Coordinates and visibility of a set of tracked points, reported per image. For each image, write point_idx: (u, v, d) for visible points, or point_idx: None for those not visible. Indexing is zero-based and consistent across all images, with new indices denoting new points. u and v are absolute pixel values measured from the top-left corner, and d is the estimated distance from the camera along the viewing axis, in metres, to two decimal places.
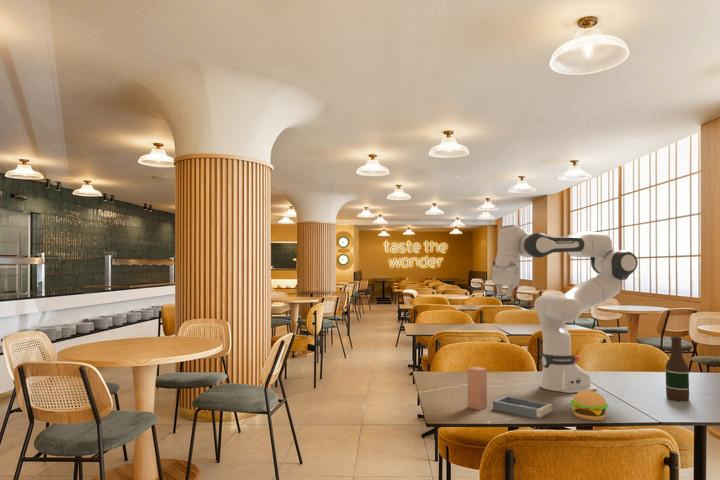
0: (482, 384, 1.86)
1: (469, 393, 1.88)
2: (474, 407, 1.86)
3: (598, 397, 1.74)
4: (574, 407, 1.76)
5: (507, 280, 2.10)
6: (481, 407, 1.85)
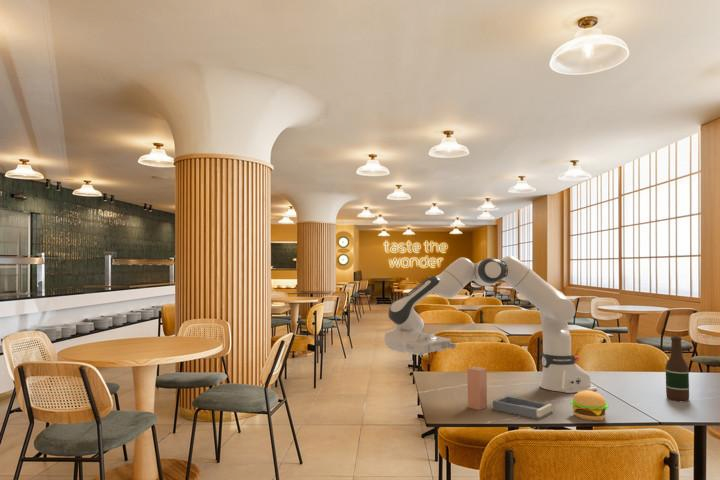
0: (482, 384, 1.86)
1: (469, 393, 1.88)
2: (474, 407, 1.86)
3: (598, 397, 1.74)
4: (574, 407, 1.76)
5: None
6: (481, 407, 1.85)
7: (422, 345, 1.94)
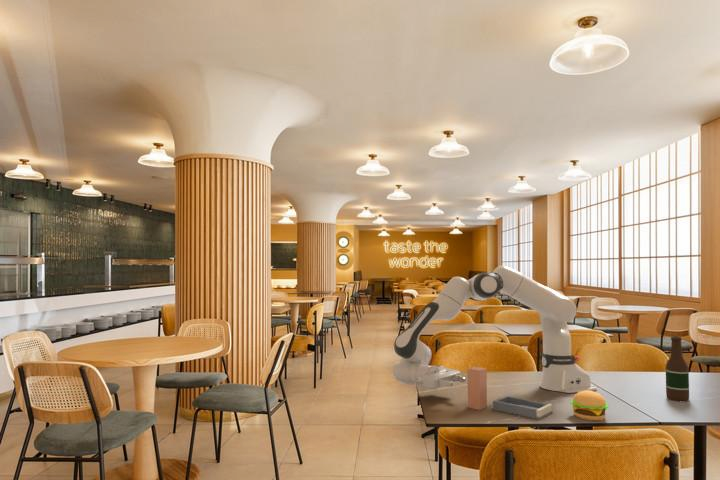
0: (482, 384, 1.86)
1: (469, 393, 1.88)
2: (474, 407, 1.86)
3: (598, 397, 1.74)
4: (574, 407, 1.76)
5: None
6: (481, 407, 1.85)
7: (432, 380, 1.91)
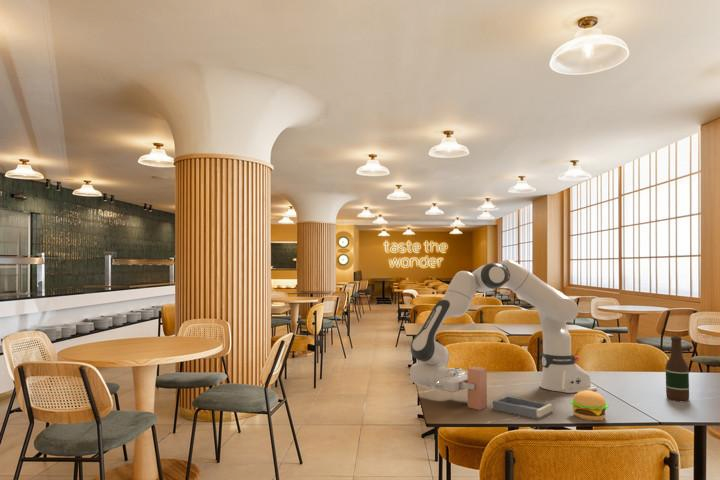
0: (482, 384, 1.86)
1: (469, 393, 1.88)
2: (474, 407, 1.86)
3: (598, 397, 1.74)
4: (574, 407, 1.76)
5: None
6: (481, 407, 1.85)
7: (452, 383, 1.84)
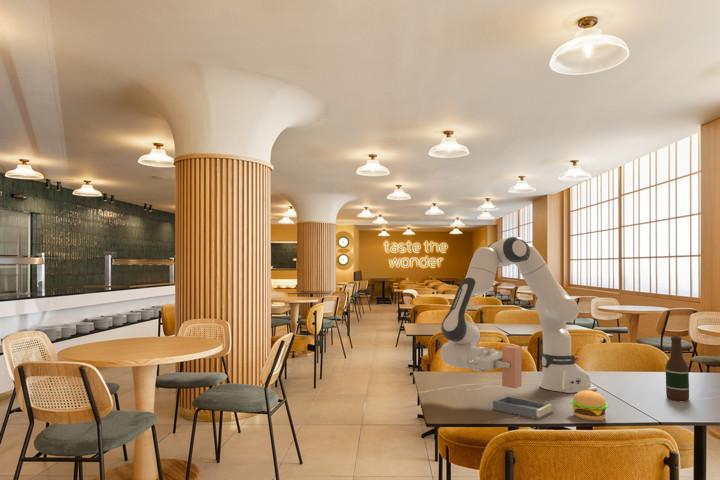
0: (517, 362, 1.84)
1: (504, 371, 1.85)
2: (509, 386, 1.84)
3: (598, 397, 1.74)
4: (574, 407, 1.76)
5: None
6: (516, 386, 1.83)
7: (487, 361, 1.82)
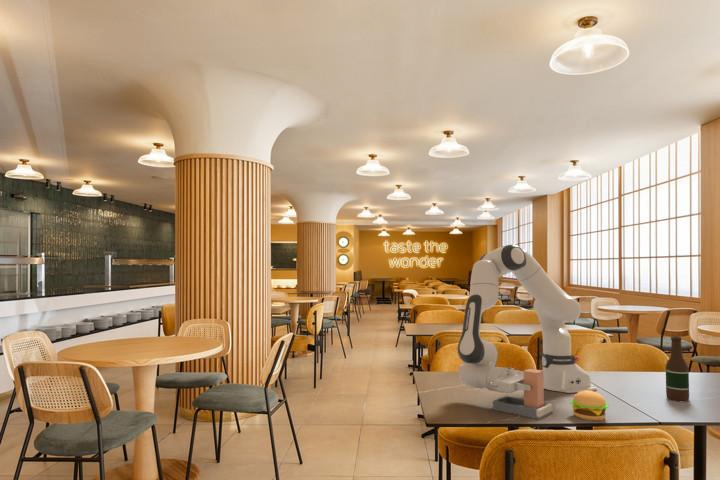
0: (540, 387, 1.79)
1: (525, 396, 1.80)
2: None
3: (598, 397, 1.74)
4: (574, 407, 1.76)
5: None
6: None
7: (509, 384, 1.76)
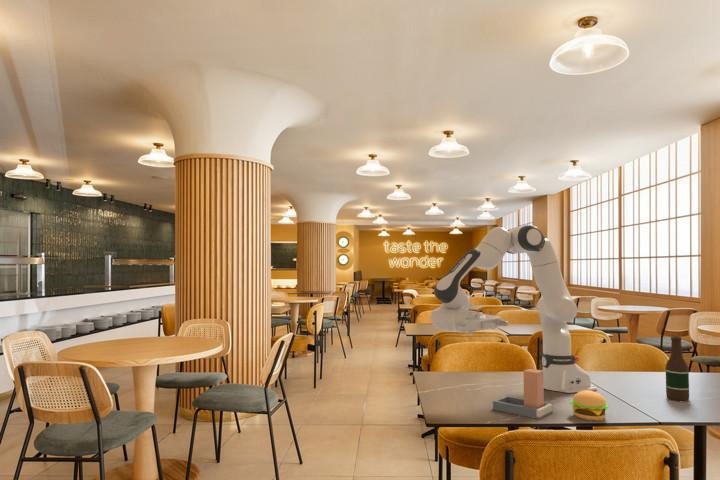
0: (540, 387, 1.79)
1: (525, 396, 1.80)
2: None
3: (598, 397, 1.74)
4: (574, 407, 1.76)
5: None
6: None
7: (475, 322, 1.86)
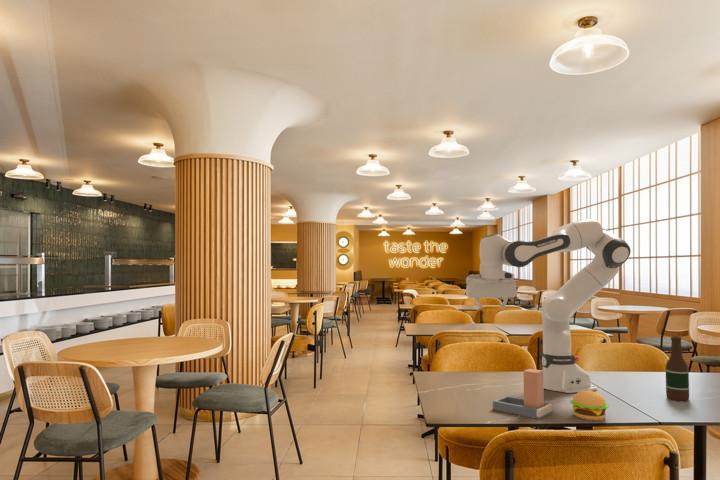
0: (540, 387, 1.79)
1: (525, 396, 1.80)
2: None
3: (598, 397, 1.74)
4: (574, 407, 1.76)
5: None
6: None
7: (469, 296, 2.05)
